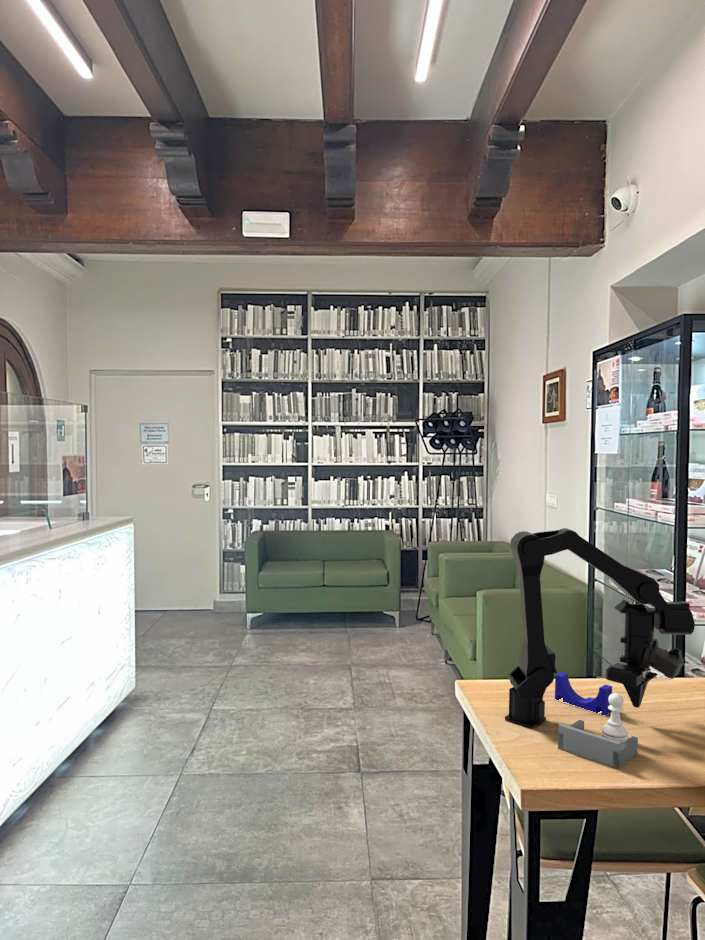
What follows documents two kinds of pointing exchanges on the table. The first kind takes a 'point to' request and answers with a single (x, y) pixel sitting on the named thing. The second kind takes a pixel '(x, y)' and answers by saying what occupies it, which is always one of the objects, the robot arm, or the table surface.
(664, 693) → the table surface
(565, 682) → the blue concave cradle
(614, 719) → the chess pawn
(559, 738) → the box
